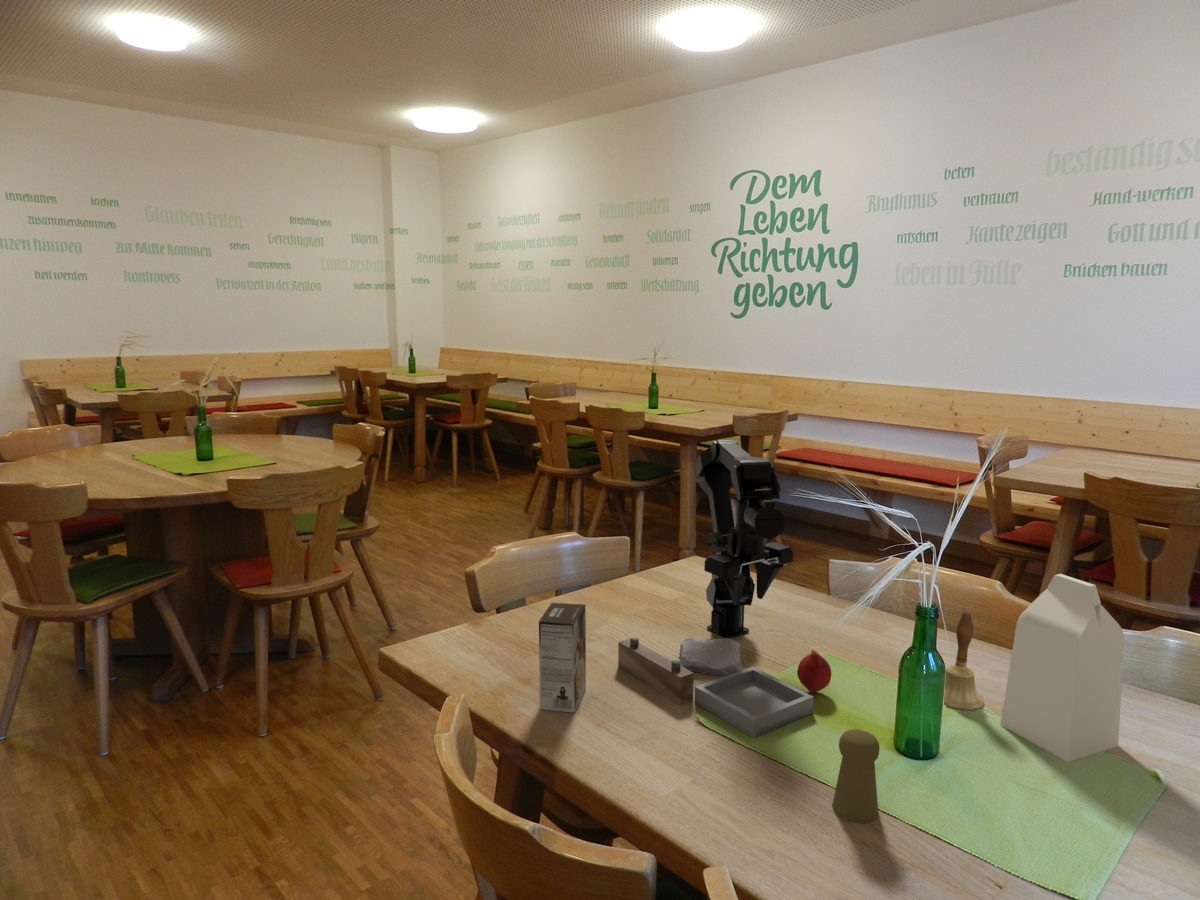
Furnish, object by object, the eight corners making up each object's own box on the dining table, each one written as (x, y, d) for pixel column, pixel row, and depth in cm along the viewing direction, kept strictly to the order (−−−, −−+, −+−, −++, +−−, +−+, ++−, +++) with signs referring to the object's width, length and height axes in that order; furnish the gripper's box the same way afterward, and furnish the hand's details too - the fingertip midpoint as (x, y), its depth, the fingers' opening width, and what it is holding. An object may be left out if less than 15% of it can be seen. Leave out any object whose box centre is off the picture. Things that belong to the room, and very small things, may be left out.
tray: (752, 681, 146) (753, 666, 146) (812, 713, 135) (813, 696, 135) (694, 702, 139) (695, 686, 138) (753, 737, 127) (754, 720, 127)
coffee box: (551, 685, 145) (551, 601, 142) (586, 688, 144) (586, 603, 141) (538, 710, 136) (537, 620, 133) (575, 713, 135) (575, 623, 132)
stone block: (743, 686, 149) (739, 654, 158) (744, 664, 147) (740, 633, 157) (679, 685, 150) (679, 653, 160) (679, 664, 149) (679, 632, 158)
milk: (1000, 724, 132) (1014, 572, 127) (1049, 711, 136) (1065, 564, 132) (1067, 761, 121) (1086, 597, 116) (1118, 745, 125) (1138, 587, 121)
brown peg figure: (825, 797, 112) (829, 724, 110) (867, 795, 112) (872, 722, 111) (841, 824, 106) (846, 747, 104) (886, 822, 106) (891, 745, 105)
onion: (831, 687, 144) (833, 645, 143) (829, 702, 139) (831, 659, 138) (798, 682, 146) (800, 641, 145) (794, 697, 141) (796, 654, 139)
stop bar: (630, 662, 154) (631, 632, 153) (693, 699, 140) (693, 666, 139) (618, 666, 153) (618, 635, 151) (679, 704, 138) (680, 670, 137)
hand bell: (959, 685, 146) (967, 601, 143) (994, 706, 138) (1003, 618, 135) (921, 691, 143) (928, 606, 140) (955, 713, 135) (963, 624, 133)
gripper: (755, 508, 165) (752, 581, 168) (686, 522, 155) (684, 599, 157) (796, 520, 156) (793, 596, 159) (726, 535, 146) (723, 616, 148)
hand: (748, 601), depth 156 cm, fingers open, 6 cm apart
